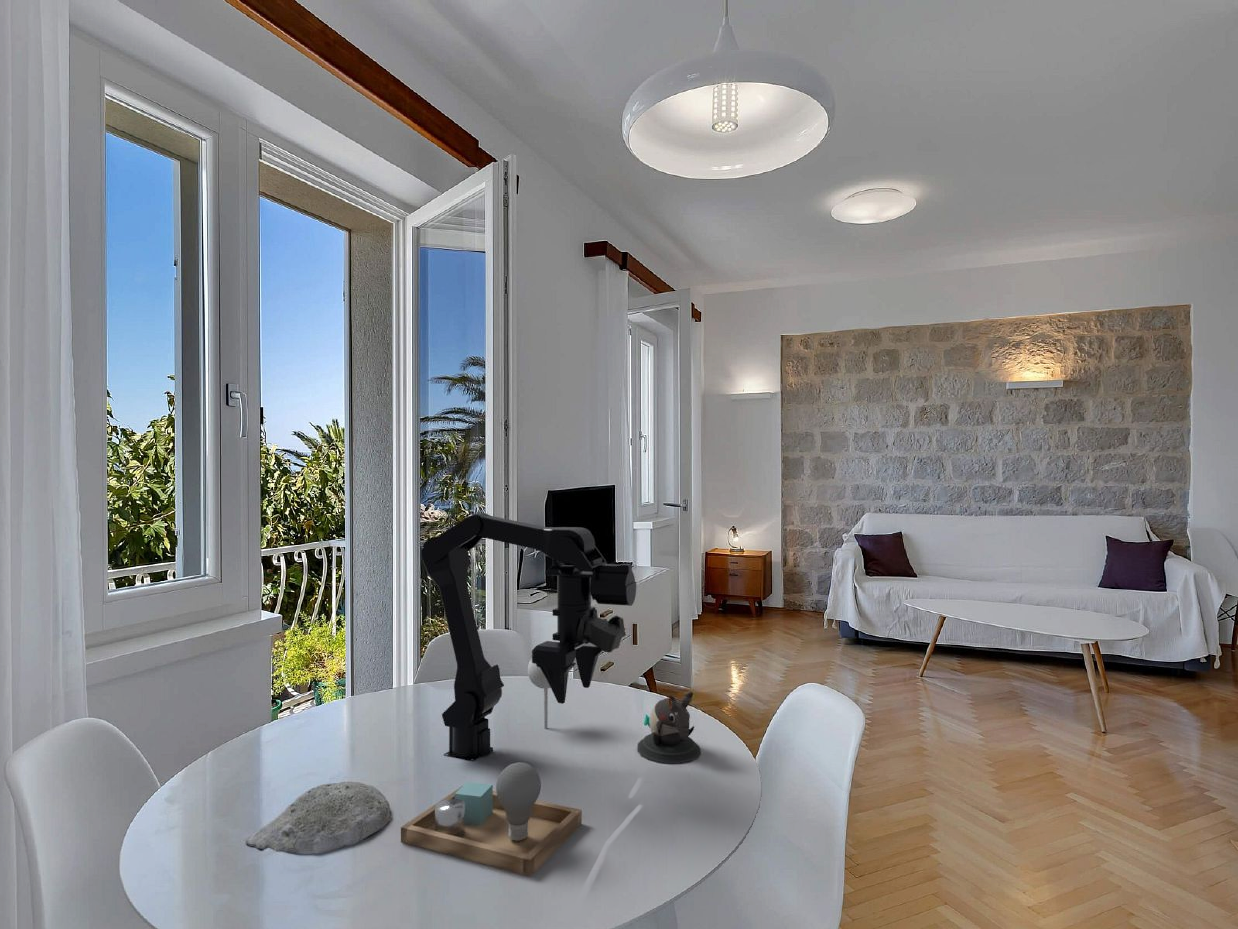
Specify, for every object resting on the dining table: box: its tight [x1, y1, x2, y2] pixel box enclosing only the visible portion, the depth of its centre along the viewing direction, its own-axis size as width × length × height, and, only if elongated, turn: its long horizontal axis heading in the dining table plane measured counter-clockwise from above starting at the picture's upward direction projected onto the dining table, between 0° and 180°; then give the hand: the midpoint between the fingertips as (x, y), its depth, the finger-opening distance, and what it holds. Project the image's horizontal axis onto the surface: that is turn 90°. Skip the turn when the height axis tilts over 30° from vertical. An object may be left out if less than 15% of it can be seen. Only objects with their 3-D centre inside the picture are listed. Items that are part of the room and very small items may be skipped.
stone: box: [245, 780, 393, 855], centre depth 98 cm, size 18×8×15 cm
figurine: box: [636, 691, 702, 765], centre depth 125 cm, size 11×12×12 cm
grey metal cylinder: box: [434, 799, 465, 838], centre depth 95 cm, size 4×4×4 cm
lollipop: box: [527, 658, 551, 730], centre depth 137 cm, size 7×7×15 cm
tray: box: [400, 786, 583, 877], centre depth 95 cm, size 20×14×2 cm
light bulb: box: [495, 761, 542, 841], centre depth 94 cm, size 6×6×10 cm
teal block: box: [455, 781, 494, 825], centre depth 100 cm, size 4×4×4 cm
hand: (574, 695), depth 118 cm, fingers open, 9 cm apart
